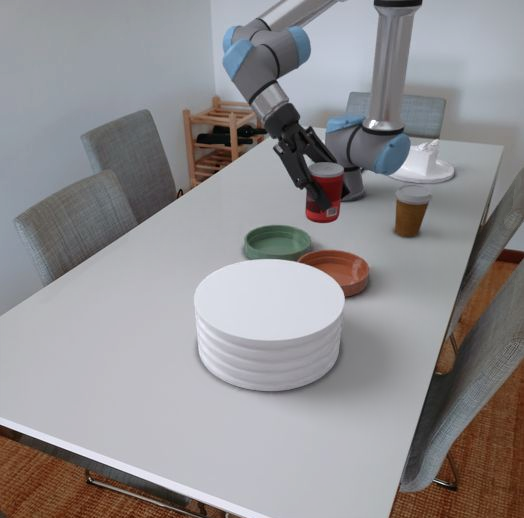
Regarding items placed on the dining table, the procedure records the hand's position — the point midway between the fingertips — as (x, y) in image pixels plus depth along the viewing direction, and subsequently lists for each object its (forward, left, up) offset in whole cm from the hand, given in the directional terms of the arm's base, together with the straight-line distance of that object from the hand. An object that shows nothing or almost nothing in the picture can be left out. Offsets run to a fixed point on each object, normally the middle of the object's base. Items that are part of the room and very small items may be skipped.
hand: (337, 202), depth 111 cm
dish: (-81, -22, -19) cm, 86 cm away
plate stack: (+30, +7, -19) cm, 36 cm away
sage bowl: (-1, -18, -19) cm, 26 cm away
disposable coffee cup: (-34, +1, -19) cm, 39 cm away
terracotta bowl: (+1, +1, -19) cm, 19 cm away
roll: (-72, -57, -15) cm, 93 cm away
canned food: (+1, -3, -4) cm, 6 cm away
